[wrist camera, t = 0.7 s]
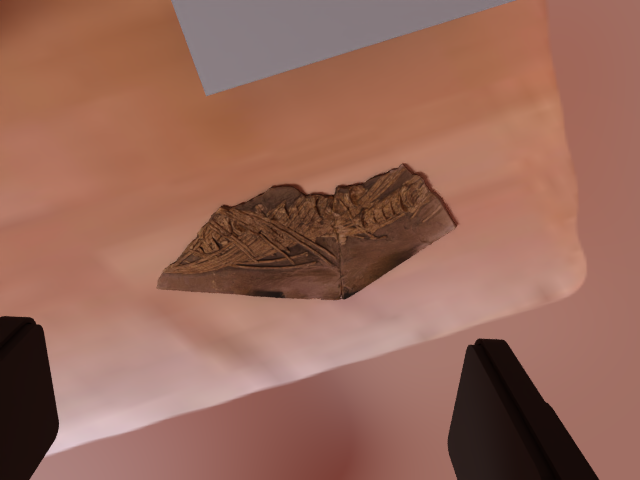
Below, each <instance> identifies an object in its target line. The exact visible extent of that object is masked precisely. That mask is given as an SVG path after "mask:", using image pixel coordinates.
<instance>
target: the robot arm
mask: <svg viewBox="0 0 640 480" xmlns="http://www.w3.org/2000/svg"><path fill="white" fill-rule="evenodd" d="M58 429H59V420H58V414H57V408H56V402H55V396H54V390H53V384H52V378H51V372H50V366H49V360H48V354H47V348H46V342H45V336H44V331H43V328H42V326H41V325H37V324H36V322H35V321H34V319H32V318H30V317H10V316H3V317H0V480H29V479H30V478H31V476H32V475H33V473H34V472H35V470H36V469H37V467H38V465H39V464H40V462H41V460H42V459H43V458H44V456H45V454H46V453H47V451H48V450H49V448H50V447H51V445H52V444H53V442H54V440H55V438H56V436H57V433H58ZM448 451H449V456H450V458H451V462H452V465H453V467H454V470H455V474H456V477H457V480H599V479H598V477H597V476H596V474H595V472H594V471H593V469H592V468H591V466H590V465H589V463H588V462H587V460H586V459H585V457H584V456H583V454H582V453H581V451H580V450H579V448H578V447H577V445H576V444H575V442H574V440H573V439H572V437H571V436H570V434H569V433H568V431H567V430H566V428H565V427H564V425H563V424H562V422H561V421H560V419H559V418H558V416H557V415H556V413H555V411H554V410H553V408H552V407H551V406H550V405H549V404H548V403H546V402H545V401H544V399H543V398H542V396H541V395H540V393H539V392H538V390H537V389H536V387H535V386H534V384H533V382H532V381H531V380H530V378H529V376H528V375H527V374H526V372H525V370H524V369H523V367H522V365H521V364H520V362H519V361H518V359H517V358H516V356H515V355H514V353H513V352H512V350H511V349H510V347H509V345H508V344H507V343H506V341H504V340H497V339H478V340H476V342H475V345H468V347H467V350H466V354H465V359H464V364H463V368H462V373H461V378H460V383H459V388H458V392H457V398H456V402H455V406H454V411H453V416H452V421H451V425H450V430H449V435H448Z"/></svg>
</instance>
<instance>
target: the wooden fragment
mask: <svg viewBox="0 0 640 480" xmlns="http://www.w3.org/2000/svg"><path fill="white" fill-rule="evenodd" d="M455 228H456V224H455V223H454V221H453V220H452V218H451V216H450V215H449V213H448V211H447V209H446V207H445V205H444V202H443V200H442V198H441V197H440V196H439V195H438V194H436V193H435V192H431V191H430V190H429V189H428V187H427V186H426V185H425V183H424V180H423V178H422V177H421V176H419V175H414V174H412V173H411V172H410V171H409V170H408V169H407V168H406V167H405V166H404V165H402V164H401V165H400V166H399V168H397V169H394V170H390V171H389V172H388V173H386V174H385V175H383V176H381V175H380V176H376V177H373V178H371V179H370V180H368V181H367V182H365V183H364V184H362V185H357V186H355V185H351V186H348V187H336V191H335V195H334V196H329V195H325V196H323V195H308V196H306V195H305V194H303V193H301V192H300V191H299V190H296V189H295V188H294V187H277V188H269V189H268V190H267V191H266V192H265V193H264V194H262V195H259V196H256V197H255V198H254V199H253V200H250V201H248V202H247V203H245V204H240V205H237V206H235V207H231V208H229V207H226V206H221V207H220V208H219V209H218V210H217V212H215V213H214V214H213V215H212V216H211V218H210V220H209V222H208V223H206V224H205V225H204V226H203V227H202V228H201V230H200V231H199V232H198V233H197V238H196V239H194V240H193V241H192V242H191V243H190V244H189V245H188V246H187V248H186V249H185V251H184V252H183V253H182V255H181V256H180V257H179V258H178V259H177V261H176V263H174V264H170V265H169V266H168V267H167V268H165V269H164V270H163V273H162V274H161V276H160V278H159V279H158V285H157V289H163V290H179V291H191V292H208V293H223V294H240V295H248V296H260V297H275V298H293V299H294V298H297V299H313V298H314V299H315V298H317V299H320V298H321V300H339V299H341V298H340V297H342V299H347V298H349V297H350V296H352V295H354V294H355V293H357V292H359V291H360V290H362V289H363V288H365V287H366V286H367V285H369V284H371V283H372V282H374V281H375V280H377V279H378V278H380V277H381V276H382V275H384V274H386V273H387V272H388V271H390V270H392V269H393V268H395V267H396V266H398V265H399V264H401V263H402V262H404V261H405V260H407V259H409V258H410V257H411V256H413V255H415V254H416V253H418V252H419V251H420V250H422V249H424V248H425V247H426V246H427V245H430V244H432V243H433V242H434V241H436V240H438V239H440V238H441V237H443V236H444V235H446V234H448V233H449V232H450V231H452V230H454V229H455ZM341 292H342V296H341Z"/></svg>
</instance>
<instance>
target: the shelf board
mask: <svg viewBox="0 0 640 480" xmlns="http://www.w3.org/2000/svg"><path fill="white" fill-rule="evenodd" d="M171 1H172V4H173V6H174V9H175V12H176V15H177V17H178V20H179V23H180V25H181V28H182V31H183V34H184V36H185V39H186V42H187V45H188V47H189V50H190V53H191V56H192V58H193V61H194V64H195V66H196V69H197V72H198V75H199V77H200V80H201V83H202V86H203V88H204V91H205V94H206V96H208V95H211V94H214V93H218V92H221V91H224V90H227V89H231V88H234V87H237V86H240V85H244V84H247V83H250V82H253V81H256V80H260V79H263V78H266V77H269V76H273V75H276V74H279V73H282V72H286V71H289V70H292V69H295V68H298V67H302V66H305V65H308V64H311V63H315V62H318V61H321V60H324V59H328V58H331V57H334V56H337V55H340V54H344V53H347V52H350V51H353V50H357V49H360V48H363V47H366V46H370V45H373V44H376V43H379V42H382V41H386V40H389V39H392V38H395V37H399V36H402V35H405V34H408V33H412V32H415V31H418V30H421V29H424V28H428V27H431V26H434V25H437V24H441V23H444V22H447V21H450V20H454V19H457V18H460V17H463V16H466V15H470V14H473V13H476V12H479V11H483V10H486V9H489V8H492V7H496V6H499V5H502V4H505V3H508V2H512V1H515V0H171Z"/></svg>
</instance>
